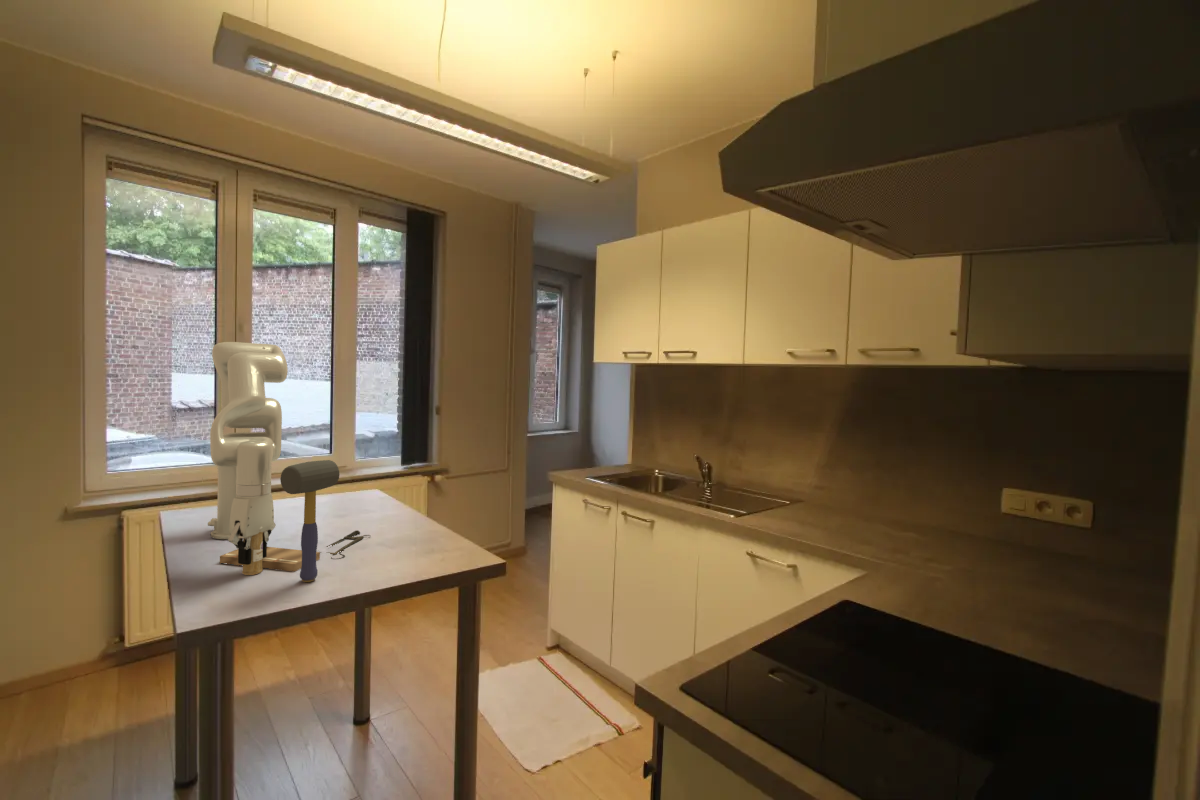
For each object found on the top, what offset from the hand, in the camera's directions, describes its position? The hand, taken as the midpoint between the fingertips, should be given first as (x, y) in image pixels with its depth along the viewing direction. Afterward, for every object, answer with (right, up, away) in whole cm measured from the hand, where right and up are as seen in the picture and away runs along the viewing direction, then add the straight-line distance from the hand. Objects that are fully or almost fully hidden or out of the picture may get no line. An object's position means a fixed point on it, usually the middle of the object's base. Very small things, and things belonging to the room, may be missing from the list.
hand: (252, 559), depth 142 cm
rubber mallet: (+16, -4, -3) cm, 17 cm away
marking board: (-1, -3, +9) cm, 9 cm away
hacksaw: (+13, -3, +25) cm, 28 cm away
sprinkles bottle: (0, -4, 0) cm, 4 cm away
